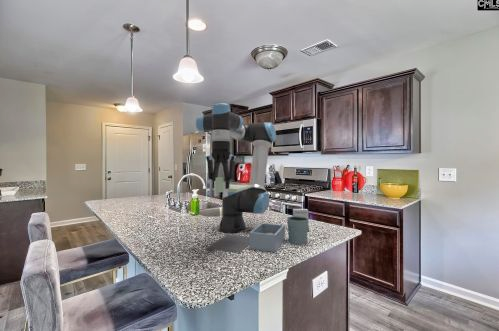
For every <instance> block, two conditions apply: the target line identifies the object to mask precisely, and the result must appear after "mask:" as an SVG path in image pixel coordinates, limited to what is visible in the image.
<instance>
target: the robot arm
mask: <svg viewBox="0 0 499 331" xmlns="http://www.w3.org/2000/svg"><path fill="white" fill-rule="evenodd" d="M211 109H212V110H211V114H206V115H205V114H203V115H199V116H197V118H195V127H196V129H197V130H198V131H199V132H210V133H211V136H212V137H211V140H212V142H211V149H212V151H211V154H210V155H207V156H206V157H205V158H206V162H207V164H206V165H207V179H208V180H211V181H212V188H214V190H213V197H219V194H220V192H216V177H218V175H219V168H220V165H221V166H222V170H223V176H224V177H225V180H224V181H223V192H222V197H221V200H222V202H221V203H222V208H221V209H222V215H221V219H220V222H219V225H218V226H219V227H218V228H219V231H220V232H223V233H227V234H228V233H229V234H230V233H231V234H234V233H240V232H242V231H245V230H246V228H247V227H246V222H245V220H244V217H243V213H246V214H248V213H249V214H254V215H257V214H261V215H262V214H264V213H265V212H266V211H267V210H268V208H269V204H270V195H269V193H268V192H267V188H265V183H266V182H265V181H266V175H267V174H266V173H267V167H268V166H267V164H268V157H269V149H270V148H271V147H272V146H273V143H275V142H276V140H277V132H276V128H275V126H274V124H273V123H272V122H265V121H264V122H256V123H255V122H251V123H245V124H244V119H243V117H242V116H241V115H239V114H238V113H234V112H232V111H231V106H230V104H228V103H224V102H218V103H217V102H216V103H213V105H212V108H211ZM231 138H233V139H234V140H236V141H239V142H243V143H251V144H252V145H253V146H254V147H253V154H252V159H251V162H252V163H251V168H250V176H249V184H248V185H251V188H248V189H246V190H242V191H238V192H228V189H229V187H230V185H231V184H230V181H232V180H234V179H235V169H236V168H235V165H236V164H235V163H236V160H237V156H236V155H233V154H231V152H230V150H231V142H230V140H231Z"/></svg>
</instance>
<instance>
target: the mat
mask: <svg viewBox="0 0 499 331" xmlns="http://www.w3.org/2000/svg"><path fill="white" fill-rule="evenodd" d="M247 247H249V236H247V235H245V236H244V235H239V234H230V233H229V234H228V233H227V234H226V235H224V236H223V237H221V238H219V239H218V240H216V241H215V242H213V243H211V244H210V245H209V246H207V247H206V251H210V252H211V251H212V252H213V251H214V250H216V251H222V252H230V253H237V254H240V253H242V252H243V251H244V250H245V249H246V248H247Z"/></svg>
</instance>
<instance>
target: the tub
mask: <svg viewBox="0 0 499 331" xmlns="http://www.w3.org/2000/svg"><path fill="white" fill-rule="evenodd" d="M267 233H273V234H267ZM248 235H249V236H248V237H249V245H248V248H249V250H255V251H256V250H257V251H264V252H271V253H277V252H278V250H279V249H280V247H281V246H282V244H284V242H285V240H286V225H284V224H275V223H264V222H261V223H260V224H259V225H257V226H256V227H255V228H252V230H251V231H249V233H248Z"/></svg>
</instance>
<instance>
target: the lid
mask: <svg viewBox="0 0 499 331" xmlns="http://www.w3.org/2000/svg"><path fill="white" fill-rule="evenodd" d="M224 180H225V177H221V176H219V177H216V192H219V193H223V181H224ZM248 188H251V185H249V184H248V185H245V184H244V185H243V184H230V187H229V189H228V192H238V191H242V190H243V191H246V189H248ZM211 190H212V191H214V188H213V187H212V189H211Z"/></svg>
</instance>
